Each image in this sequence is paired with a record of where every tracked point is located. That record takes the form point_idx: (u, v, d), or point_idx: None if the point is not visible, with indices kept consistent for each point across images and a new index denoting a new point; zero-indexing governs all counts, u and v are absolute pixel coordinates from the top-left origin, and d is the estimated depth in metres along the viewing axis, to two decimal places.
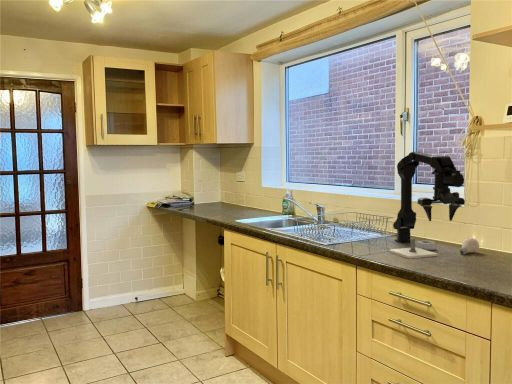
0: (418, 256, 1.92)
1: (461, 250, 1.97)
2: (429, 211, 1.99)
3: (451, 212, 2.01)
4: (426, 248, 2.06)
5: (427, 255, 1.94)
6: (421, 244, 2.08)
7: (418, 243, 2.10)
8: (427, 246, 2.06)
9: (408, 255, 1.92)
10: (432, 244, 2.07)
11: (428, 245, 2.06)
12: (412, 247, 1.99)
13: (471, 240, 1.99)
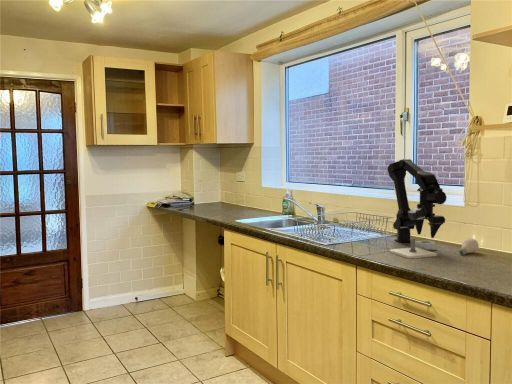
0: (418, 256, 1.92)
1: (460, 250, 1.96)
2: (415, 224, 2.14)
3: None
4: (426, 248, 2.06)
5: (427, 255, 1.94)
6: (421, 244, 2.08)
7: (418, 243, 2.10)
8: (427, 246, 2.06)
9: (408, 255, 1.92)
10: (432, 244, 2.07)
11: (428, 245, 2.06)
12: (412, 247, 1.99)
13: (471, 240, 1.98)
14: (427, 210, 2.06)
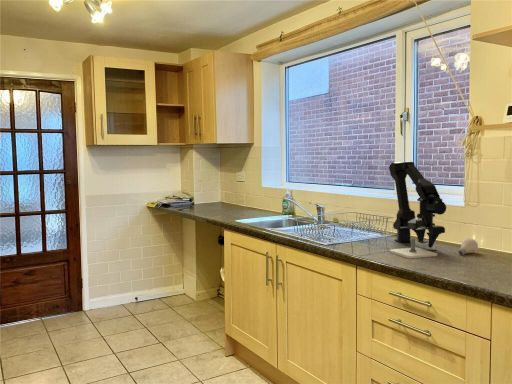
0: (418, 256, 1.92)
1: (460, 250, 1.96)
2: (417, 234, 2.13)
3: None
4: (426, 248, 2.06)
5: (427, 255, 1.94)
6: (421, 244, 2.08)
7: (418, 243, 2.10)
8: (427, 246, 2.06)
9: (408, 255, 1.92)
10: None
11: (428, 245, 2.06)
12: (412, 247, 1.99)
13: (470, 240, 1.98)
14: (427, 220, 2.06)
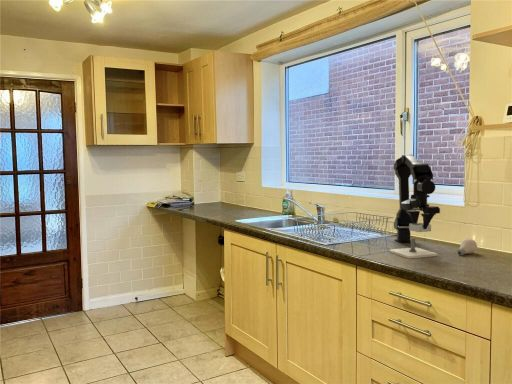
0: (418, 256, 1.92)
1: (459, 251, 1.95)
2: (411, 217, 2.06)
3: None
4: (421, 230, 1.99)
5: (427, 255, 1.94)
6: (415, 226, 2.01)
7: (412, 225, 2.03)
8: (421, 228, 1.99)
9: (408, 255, 1.92)
10: None
11: (422, 227, 1.99)
12: (412, 247, 1.99)
13: (469, 241, 1.97)
14: (421, 201, 1.99)
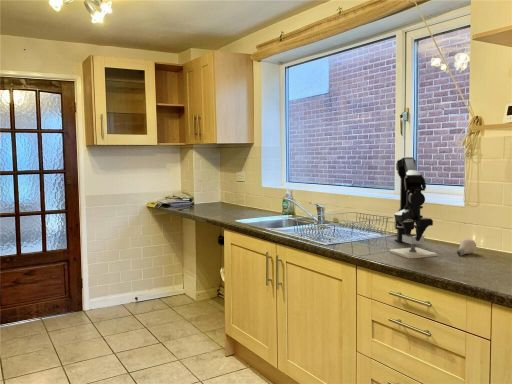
0: (418, 256, 1.92)
1: (458, 251, 1.95)
2: (404, 227, 2.03)
3: None
4: (413, 241, 1.96)
5: (427, 255, 1.94)
6: (408, 237, 1.97)
7: (405, 236, 1.99)
8: (414, 239, 1.96)
9: (408, 255, 1.92)
10: None
11: (415, 239, 1.96)
12: (412, 247, 1.99)
13: (468, 241, 1.97)
14: (414, 212, 1.95)
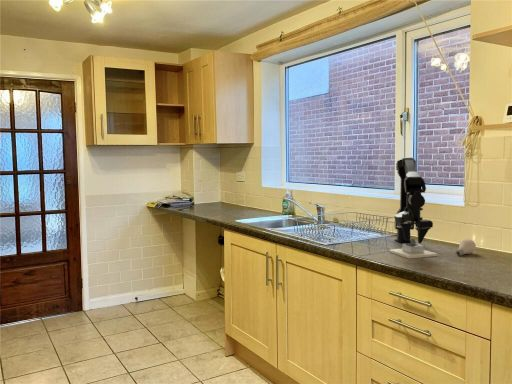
0: (418, 256, 1.92)
1: (457, 251, 1.95)
2: (402, 229, 2.04)
3: None
4: (413, 251, 1.96)
5: (427, 255, 1.94)
6: (408, 247, 1.97)
7: (405, 246, 1.99)
8: (414, 249, 1.96)
9: (408, 255, 1.92)
10: (419, 247, 1.97)
11: (415, 248, 1.96)
12: None
13: (468, 241, 1.97)
14: (414, 214, 1.95)
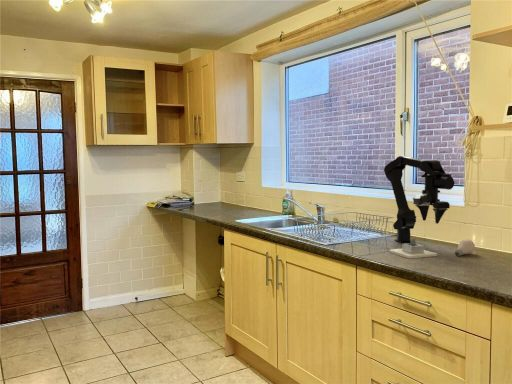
0: (418, 256, 1.92)
1: (456, 251, 1.94)
2: (420, 210, 2.16)
3: None
4: (413, 251, 1.96)
5: (427, 255, 1.94)
6: (408, 247, 1.97)
7: (405, 246, 1.99)
8: (414, 249, 1.96)
9: (408, 255, 1.92)
10: (419, 247, 1.97)
11: (415, 248, 1.96)
12: None
13: (467, 241, 1.96)
14: (432, 196, 2.07)
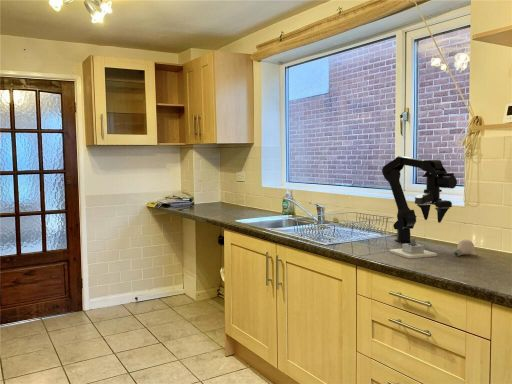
0: (418, 256, 1.92)
1: (455, 252, 1.94)
2: (422, 210, 2.17)
3: None
4: (413, 251, 1.96)
5: (427, 255, 1.94)
6: (408, 247, 1.97)
7: (405, 246, 1.99)
8: (414, 249, 1.96)
9: (408, 255, 1.92)
10: (419, 247, 1.97)
11: (415, 248, 1.96)
12: None
13: (466, 242, 1.96)
14: (434, 195, 2.08)
